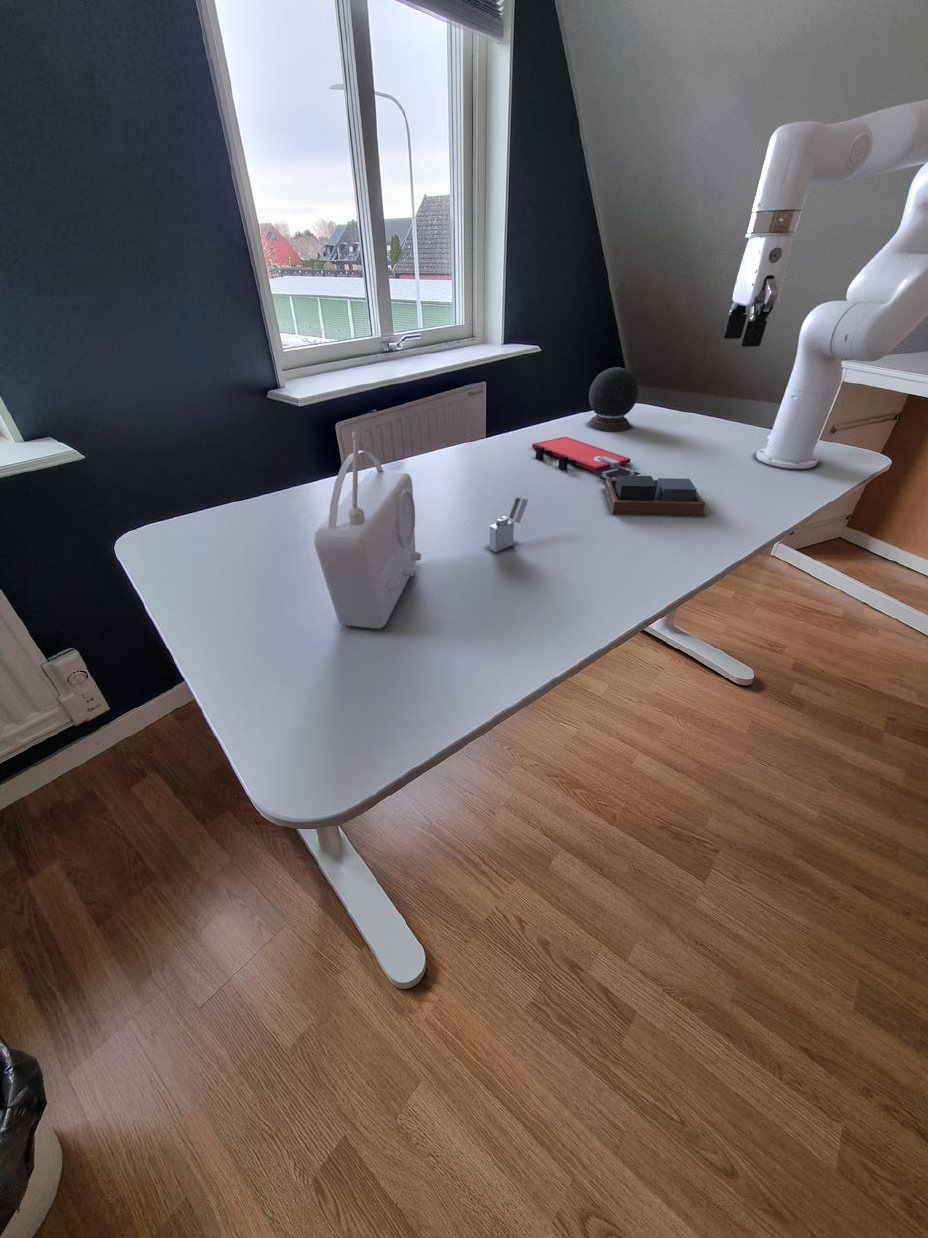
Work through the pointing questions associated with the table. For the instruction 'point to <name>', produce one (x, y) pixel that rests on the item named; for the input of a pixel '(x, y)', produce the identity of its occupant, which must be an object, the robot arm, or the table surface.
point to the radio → (368, 543)
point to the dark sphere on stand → (612, 399)
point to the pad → (675, 490)
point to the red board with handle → (584, 457)
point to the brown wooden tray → (652, 504)
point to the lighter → (506, 526)
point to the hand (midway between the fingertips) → (740, 342)
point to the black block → (635, 488)
